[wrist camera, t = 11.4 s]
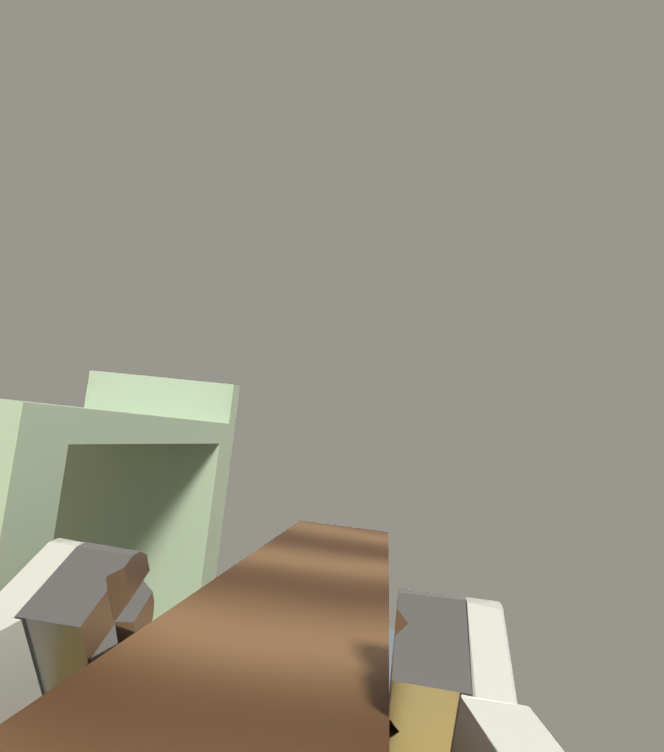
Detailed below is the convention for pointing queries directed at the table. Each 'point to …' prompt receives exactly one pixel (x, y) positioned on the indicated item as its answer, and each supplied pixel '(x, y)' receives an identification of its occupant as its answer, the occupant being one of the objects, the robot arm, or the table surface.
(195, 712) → the walnut batten
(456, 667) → the robot arm
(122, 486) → the sage shelf
